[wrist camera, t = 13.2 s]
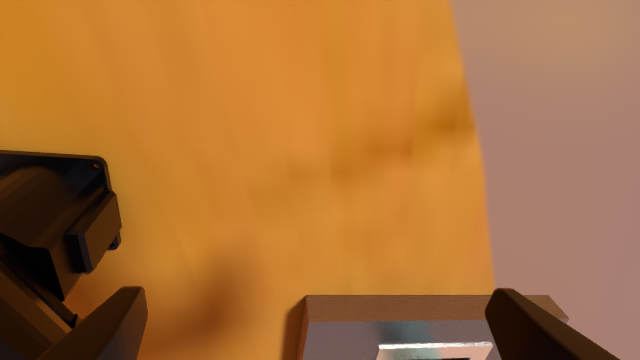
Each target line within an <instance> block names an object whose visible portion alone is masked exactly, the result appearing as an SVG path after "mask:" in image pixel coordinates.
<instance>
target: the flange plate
mask: <svg viewBox="0 0 640 360" xmlns="http://www.w3.org/2000/svg"><path fill="white" fill-rule="evenodd" d="M491 296H492V295H306V299H305V306H304V312H303V319H302V325H301V332H300V338H299V345H298V351H297V358H296V360H413V359H442V358H443V359H442V360H501V357H500V355H499V352H498V349H497V347H496V344H495V341H494V339H493V336H492V334H491V331H490V328H489V326H488V323H487V320H486V318H485V307H486V305H487V303H488V302H489V300H490V298H491ZM523 296H525V297H526V298H528V299H529V300H531V301H532V302H534V303H535V304H537V305H538V306H540V307H541V308H543V309H544V310H546V311H547V312H549V313H550V314H552V315H553V316H555V317H556V318H558V319H559V320H561V321H562V322H564V323H565V324H566V323H567V321H568V320H569V318H568V316H567V315H566V314H565V313H564V312H563V311H562V310H561V309H560V308H559V307H558V305H556V303H555V302H554V301H553V300H552V299H551V298H550V297H549V296H548V295H523Z"/></svg>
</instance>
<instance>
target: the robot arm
mask: <svg viewBox="0 0 640 360" xmlns="http://www.w3.org/2000/svg"><path fill="white" fill-rule="evenodd" d="M93 163H96V164H97V165H99V168H97V167H95V166H94V165H93ZM121 227H122V224H121V219H120V213H119V208H118V202H117V196H116V194H115V193H114V191H112V188H111V183H110V177H109V172H108V166H107V163H106V161H105V160H104V159H103V158H101V157H98V156H88V155H72V154H56V153H40V152H24V151H8V150H0V360H136V359H137V355H138V352H139V348H140V344H141V340H142V337H143V333H144V329H145V325H146V321H147V315H148V310H147V303H146V297H145V291H144V288H143V287H141V286H124V287H122V288H120V289H119V290H118V291H117V292H116V293H114V294H113V295H112V296H111V297H110V298H109V299H107V300H106V301H105V302H104V303H103V304H101V305H100V306H99V307H98V308H97V309H95V310H94V311H93V312H92V313H91V314H90V315H88V316H87V317H86V318H85V319H84V320H82V319H81V318H80V317H79V316H78V315H77V314H73V313H72V312H71V311H70V310H69V309H68V308H67V307H66V306H65V305H64V304H63V303H62V302H63V301H64V300H65V299H66V297H67V296H68V294H69V293H70V291H71V290H72V288H73V287H74V285H75V284H76V282H77V281H78V280H79V278H80V277H81V275H82V274H90V273H91V272H92V271H93V270H94V269H95V268H96V266H97V264H98V263H99V261H100V260H101V258H102V257H103V255H104V254H105V252H106V251H107V250H115V249H117V248H118V246H119V245H120V243H121V237H120V232H119V230H120V229H121ZM112 242H114V243H112ZM485 318H486V320H487V323H488V326H489V328H490V331H491V334H492V336H493V339H494V341H495V344H496V347H497V349H498V352H499V355H500V357H501V360H620V359H618V358H617V357H615V356H614V355H612V354H611V353H609V352H608V351H606V350H604V349H603V348H602V347H600V346H599V345H597V344H596V343H594V342H593V341H591V340H590V339H588V338H587V337H585V336H584V335H582V334H581V333H579V332H577V331H576V330H574V329H573V328H571V327H570V326H568V325H567V324H565V323H564V322H562V321H561V320H559V319H558V318H556V317H555V316H553V315H552V314H550V313H549V312H547V311H546V310H544V309H543V308H541V307H540V306H538V305H537V304H535V303H534V302H532V301H531V300H529V299H528V298H526V297H525V296H523V295H521V294H520V293H518V292H517V291H515V290H514V289H511V288H497V289H495V290H494V292H493V294H492V296H491V298H490V300H489V302H488V303H487V305H486V307H485Z"/></svg>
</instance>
